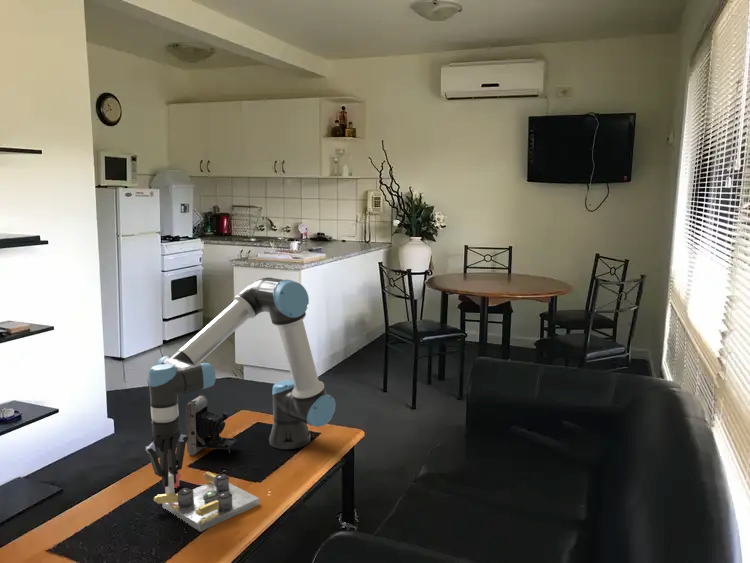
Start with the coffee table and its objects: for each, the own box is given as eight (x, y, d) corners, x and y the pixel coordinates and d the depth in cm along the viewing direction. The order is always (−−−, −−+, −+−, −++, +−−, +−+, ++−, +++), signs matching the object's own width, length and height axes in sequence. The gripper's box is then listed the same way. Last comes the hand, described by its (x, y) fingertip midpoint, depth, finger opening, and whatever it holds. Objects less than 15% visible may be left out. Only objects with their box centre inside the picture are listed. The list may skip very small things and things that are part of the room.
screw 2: (231, 487, 190) (231, 475, 190) (219, 492, 187) (219, 480, 187) (211, 476, 198) (210, 465, 197) (198, 481, 195) (198, 470, 194)
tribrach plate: (220, 484, 198) (220, 471, 197) (259, 504, 184) (258, 491, 184) (162, 507, 183) (161, 494, 182) (200, 531, 170) (199, 517, 169)
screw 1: (195, 498, 184) (194, 486, 183) (192, 506, 179) (191, 493, 179) (156, 500, 183) (155, 488, 182) (151, 508, 178) (151, 495, 178)
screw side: (226, 501, 182) (226, 489, 181) (235, 506, 179) (234, 493, 178) (192, 516, 173) (191, 503, 173) (201, 521, 171) (200, 508, 170)
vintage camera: (226, 460, 217) (226, 405, 214) (185, 455, 220) (185, 401, 217) (238, 449, 226) (238, 396, 224) (198, 445, 229) (198, 393, 227)
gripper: (178, 409, 187) (183, 483, 190) (137, 421, 177) (143, 499, 180) (192, 415, 182) (196, 491, 185) (150, 427, 172) (156, 507, 175)
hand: (170, 495), depth 183 cm, fingers closed
